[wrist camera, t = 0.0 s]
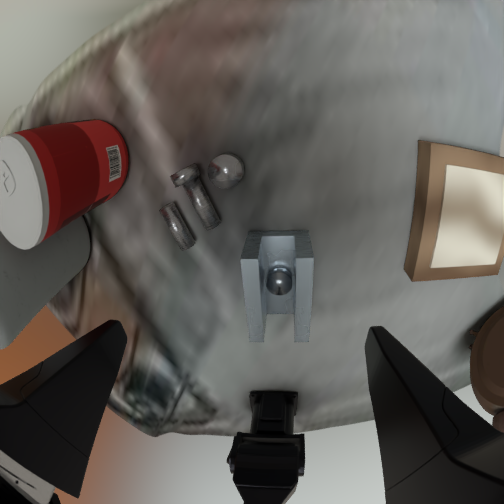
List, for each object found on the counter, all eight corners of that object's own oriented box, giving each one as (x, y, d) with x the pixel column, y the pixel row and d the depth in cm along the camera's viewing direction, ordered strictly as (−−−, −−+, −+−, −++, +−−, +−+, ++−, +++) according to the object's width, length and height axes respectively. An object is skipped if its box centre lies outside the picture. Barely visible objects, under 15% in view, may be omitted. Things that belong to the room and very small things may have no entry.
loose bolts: (266, 212, 22) (264, 222, 20) (184, 245, 24) (176, 256, 22) (234, 144, 20) (228, 146, 18) (152, 186, 22) (140, 193, 20)
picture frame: (487, 264, 21) (499, 276, 19) (403, 269, 23) (413, 283, 21) (507, 158, 16) (522, 164, 14) (418, 140, 18) (432, 143, 15)
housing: (305, 305, 26) (308, 341, 22) (255, 306, 27) (249, 341, 22) (308, 229, 23) (313, 258, 18) (248, 231, 23) (240, 259, 19)
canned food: (98, 102, 19) (3, 111, 9) (147, 160, 21) (59, 199, 11) (59, 160, 21) (-23, 193, 12) (102, 214, 24) (26, 270, 14)
